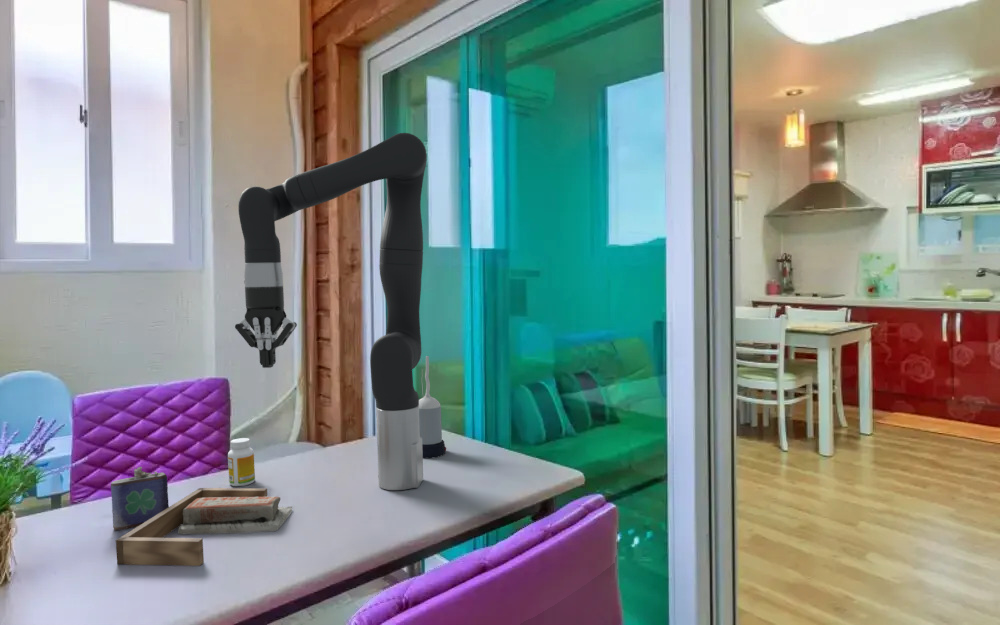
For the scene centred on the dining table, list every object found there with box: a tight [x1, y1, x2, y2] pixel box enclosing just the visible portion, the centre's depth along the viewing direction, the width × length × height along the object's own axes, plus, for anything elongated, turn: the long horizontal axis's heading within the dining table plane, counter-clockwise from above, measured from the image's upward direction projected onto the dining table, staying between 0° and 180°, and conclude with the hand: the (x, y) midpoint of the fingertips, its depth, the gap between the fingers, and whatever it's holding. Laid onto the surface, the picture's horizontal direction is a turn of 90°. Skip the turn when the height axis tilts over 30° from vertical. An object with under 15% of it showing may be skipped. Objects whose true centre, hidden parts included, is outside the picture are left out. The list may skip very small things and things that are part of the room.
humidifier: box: [419, 355, 447, 459], centre depth 160 cm, size 8×8×25 cm
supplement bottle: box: [227, 437, 256, 487], centre depth 140 cm, size 5×5×10 cm
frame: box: [115, 487, 268, 567], centre depth 113 cm, size 14×24×4 cm, turn 175°
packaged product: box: [177, 496, 293, 535], centre depth 118 cm, size 18×5×10 cm
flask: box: [110, 466, 170, 531], centre depth 118 cm, size 9×3×11 cm, turn 121°
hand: (267, 367), depth 132 cm, fingers closed
